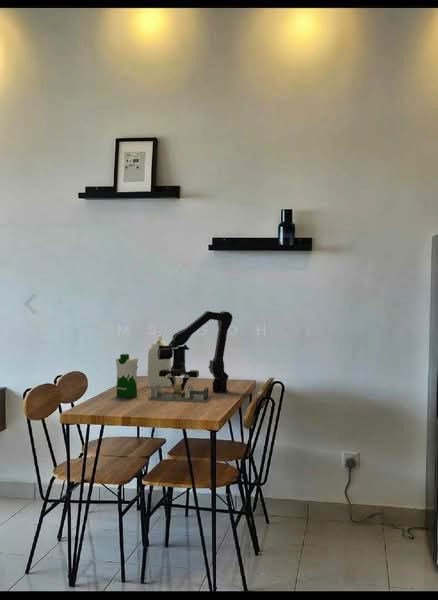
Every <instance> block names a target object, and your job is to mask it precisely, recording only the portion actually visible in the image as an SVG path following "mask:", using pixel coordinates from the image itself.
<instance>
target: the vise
mask: <svg viewBox="0 0 438 600" xmlns="http://www.w3.org/2000/svg"><path fill="white" fill-rule="evenodd" d="M147 398H148V401H166V402H168V401H169V402H189V403H207V402H208V401H209V400H210V399H211V398H212V394H208V397H207V398H203V394H194V395H193V396H192V397H191V398H190V399H187V398H185V393H182V394H174V393H168V392H167V393H164V392H163V387H162V386H161V385H156V386H155V387H151V389H150V396H149V397H147Z"/></svg>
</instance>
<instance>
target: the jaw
mask: <svg viewBox="0 0 438 600" xmlns="http://www.w3.org/2000/svg"><path fill="white" fill-rule="evenodd" d="M184 394H185V398H187V399H190V398H191V397H192V396H193V395H203V398H207V397H208V395H209V386H207V387H205V388H203V390H195V386H194V385H189V386H188V387H187V388H186V389H184Z"/></svg>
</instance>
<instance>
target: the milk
mask: <svg viewBox="0 0 438 600" xmlns="http://www.w3.org/2000/svg"><path fill="white" fill-rule="evenodd" d="M159 345H162V346H168V345H169V344H168V343H166V342H165V341H164V340H163V334H158V335H157V341H154V342H153V343H152V344H151V347H150V348H149V349H148V353H147V354H148V356H147V376H146V377H147V380H146V382H147V383H146V387H148V388H149V387H150V388H153V387H155V386H156V385H161V386H162V388H170V387H171V385H172V383H171V381H170V379H169V378H167V377H168V375H166V376H165V377H162V376H159V371H160V370H162V369H169V371H171V368H172V358H170V359H164V360H158V356H157V352H158V348H159Z"/></svg>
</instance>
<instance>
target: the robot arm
mask: <svg viewBox="0 0 438 600" xmlns="http://www.w3.org/2000/svg"><path fill="white" fill-rule="evenodd" d="M212 320H213V321H217V327H218V331H217V337H216V343H215V345H216V346H215V349H214V350H215V352H214V357H213V359H210V360H209V366H208V369H209V373H210V374H211V375H212V376H213V381H212V393H213V392H214V393H227V392H228V391H229V389H228V379H229V374H228V373H227V372H226V371H225V362H224V355H225V347H226V342H227V336H228V330H229V328H230V326H231V323H232V321H233V314H232V313H231V312H229V311H225V310H222V311H220V312H215V311H210V310H207V311H205V312H204V313H203V314H201V315H200V316H199V317H198V318H196V320H194V321H193V322H192V323H190V324H189V325H188V326H187V327H185V328H184V329H183V328H182V329H181V330H179V331H177V332H175V333H174V334H173V335H172V340H171V341H170V342H169V344H167V345H168V346H162V345H159V348H158V352H157V356H158V360H164V359H170V358H171V359H172V364H171V371H169V369H162V370H160V371H159V376H162V377H165V376H166V375H168V377H167V378H169V379H170V381H171V383H172V384H171V385H172V388H173V389H174V384H175V383H176V382H177V381H176V377H179V378H180V377H182V376H183V377H182V382H183V385H182V391H184V392H185V388H186V385H187V382H188V381H189V380H190V379H191V378H193V379H194V378H195V379H196V378H198V377H200V372H199V370H198V369H194V370H193V369H192V370H191V369H190V370H189V371H187V370H186V369H187V368H186V351H189V350H190V347H188V345H187V344H186V343H187V342H188V341H189V339H190V338H191V336H192V335H193V334H194V333H196V332H197V331H198V330H200V328H202V327H203V326H204V325H205V324H207V323H208V322H209V321H212Z"/></svg>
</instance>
